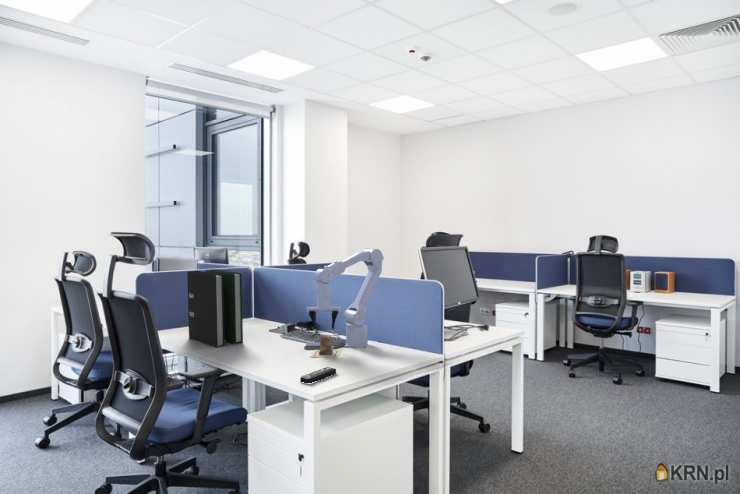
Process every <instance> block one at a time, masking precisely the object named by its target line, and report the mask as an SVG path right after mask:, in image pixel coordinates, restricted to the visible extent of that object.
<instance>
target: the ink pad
mask: <svg viewBox="0 0 740 494" xmlns="http://www.w3.org/2000/svg"><path fill="white" fill-rule="evenodd" d="M303 349H304V350H320V342H307V343H306V344H305V346H304V348H303Z"/></svg>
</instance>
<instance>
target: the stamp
mask: <svg viewBox="0 0 740 494" xmlns="http://www.w3.org/2000/svg"><path fill="white" fill-rule="evenodd" d="M319 338H320V339H319V340H320V341H319V343H320V349H319V350H320V351H319V355H331V354H332V352H333V350H334V349H333V348H332V335H321V336H320V337H319Z"/></svg>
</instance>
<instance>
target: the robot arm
mask: <svg viewBox="0 0 740 494" xmlns="http://www.w3.org/2000/svg"><path fill="white" fill-rule="evenodd" d="M384 258H385V257H384V255H383V252H382V251H381V250H380V249H379V248H368V247H367V248H364V249H360V250H359V251H357V252H356V253H354V254H353V255H350V256H349V257H348V258H346V259H344V260H333V262H332V263H331V264H329V265H324V266H323V268H318V269H317V270H315V273H314V275H313V277H314V280H315V282H316V306H306V313H308V315H309V318H310V320H311V322H312V325H313V330H316V329H317V312H318V313H322V312H323V313H328V312H329V313H331V329H332V330H335V324H336V320H337V318H338V315H339V313H341V312H342V308H341V306H331V282H332V280H333V279H334V278H336V277H337V276H340V275H341V274H344V273H345V271H346V268H349V267H351V266H353V265H356V264H358V263H359V262H363V264H365V266H366V267H367V269H368V271H367V274H366V276H365V279H364V281H363V282H362V284H361V287H360V288H359V289H360V290H359V291H358V293H357V295H356V297H355V300H354V301H353V302H352V303H351V304H349V307H348V308H347V309H346V310H344V312H343V316H342V317H343V320H344V321H345V323H346V324H345V330H346V331H345V333H346V334H345V335H346V336H345V339H346V342H345V344H346V345H345V344H344V347H345V348H366V347H367V346H368V341H369V339H368V325H366V324H365V325H364V323H365V322H366V315H367V309H366V306H367V304H368V302H369V300H370V297H371V295H372V293H373V291H374V290H375V286H376V284H377V282H378V281H379V279H380V275H381V274H382V272H383V271H382V270H383V269H382V268H383V260H384Z"/></svg>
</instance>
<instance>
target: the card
mask: <svg viewBox="0 0 740 494" xmlns="http://www.w3.org/2000/svg"><path fill="white" fill-rule="evenodd" d="M319 351H320V349H314V351H313V352H312V354H311V355H310V358H339V357H338V356H339V355H340V353H341V352H342V351H341V349H333V352H332V354H331V355H319Z"/></svg>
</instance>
